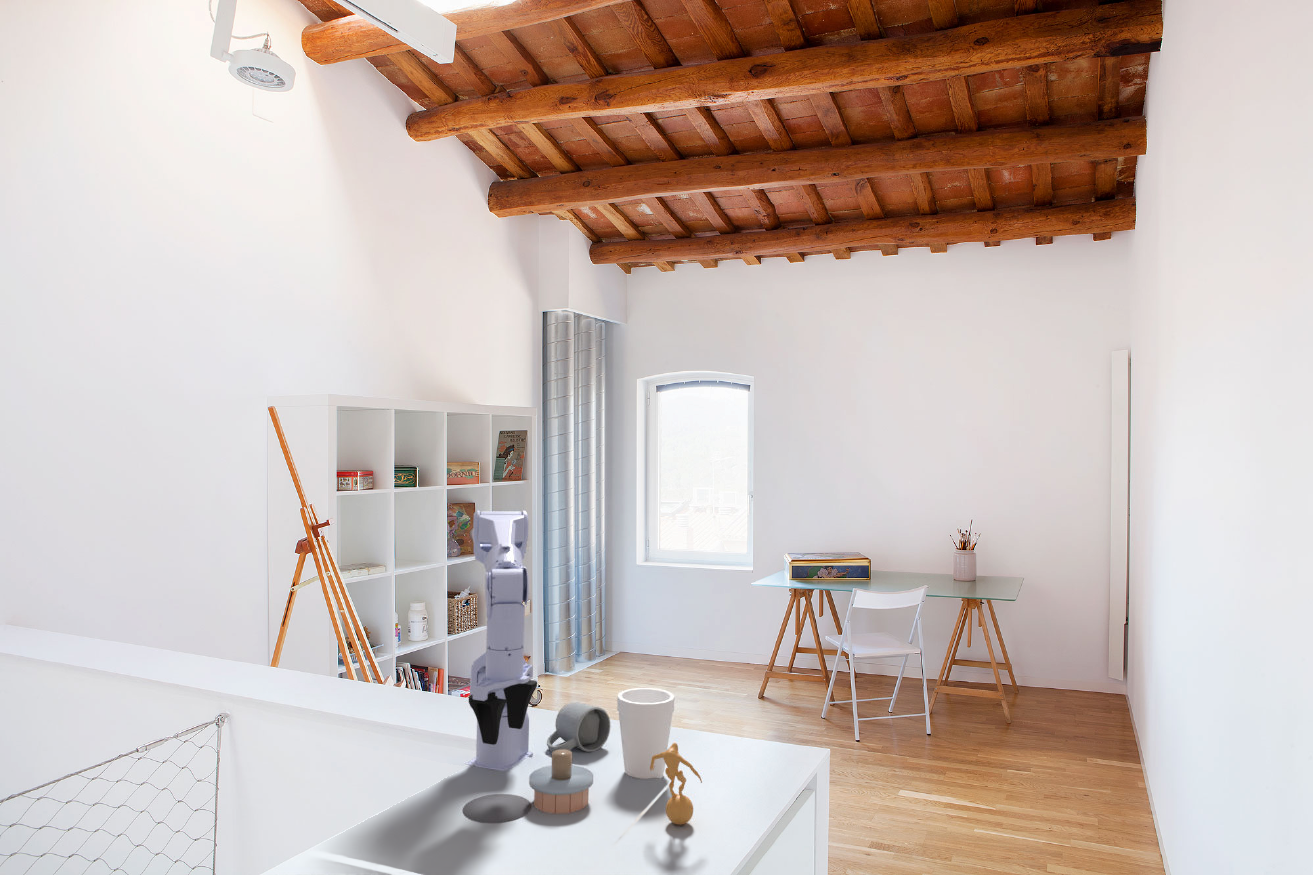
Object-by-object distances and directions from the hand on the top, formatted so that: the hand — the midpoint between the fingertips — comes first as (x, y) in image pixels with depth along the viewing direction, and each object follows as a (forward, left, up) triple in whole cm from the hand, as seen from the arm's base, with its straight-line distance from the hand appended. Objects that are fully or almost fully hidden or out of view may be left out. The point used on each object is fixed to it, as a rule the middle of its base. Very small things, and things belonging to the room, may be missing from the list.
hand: (502, 735), depth 125 cm
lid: (-1, +10, -6) cm, 11 cm away
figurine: (-1, +28, -10) cm, 30 cm away
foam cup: (-17, +17, -10) cm, 26 cm away
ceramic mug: (-24, +1, -10) cm, 26 cm away
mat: (+5, +2, -9) cm, 11 cm away
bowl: (-1, +10, -9) cm, 14 cm away
